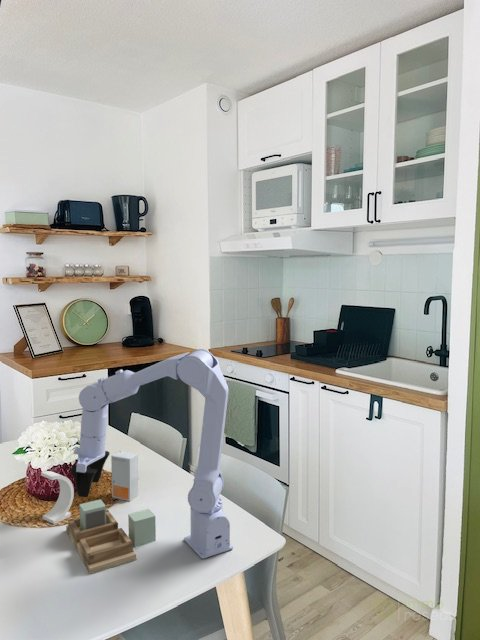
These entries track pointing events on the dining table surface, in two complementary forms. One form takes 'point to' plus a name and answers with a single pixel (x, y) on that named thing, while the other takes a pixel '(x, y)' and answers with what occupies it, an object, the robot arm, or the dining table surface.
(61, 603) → the dining table surface
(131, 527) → the finger block
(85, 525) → the seated block
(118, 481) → the skincare box
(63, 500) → the headphone stand
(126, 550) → the compartment tray
